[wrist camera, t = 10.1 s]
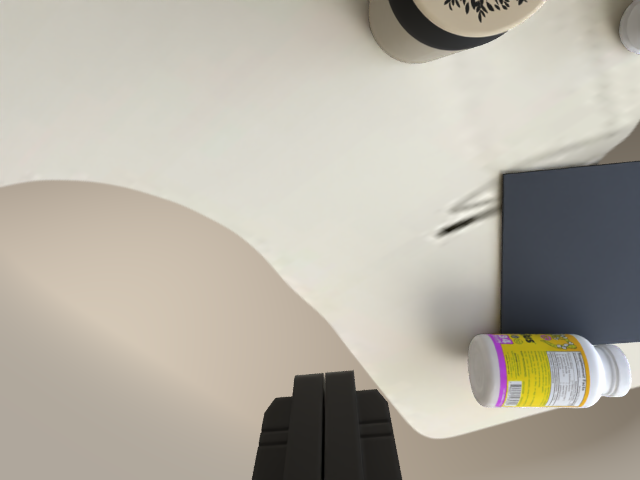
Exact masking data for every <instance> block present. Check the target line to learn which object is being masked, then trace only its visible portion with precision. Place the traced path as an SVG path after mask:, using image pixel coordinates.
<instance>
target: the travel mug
mask: <svg viewBox="0 0 640 480" xmlns="http://www.w3.org/2000/svg"><path fill="white" fill-rule="evenodd" d="M546 1H547V0H370V2H369V11H368V12H369V23H370V28H371V31H372V34H373V36H374V38H375V40H376V42H377V43H378V45H379V46H380V47H381V48H382V50H383V51H384V52H386V53H387V54H388V55H389V56H391V57H392V58H394V59H396V60H399V61H401V62H405V63H411V64H419V63H425V62H429V61H432V60H435V59H439V58H442V57H445V56H448V55H451V54H454V53H458V52H461V51H464V50H467V49H470V48H473V47H477V46H480V45H483V44H485V43H488V42H490V41H492V40H494V39H496V38H498V37H500V36H501V35H503V34H504V33H506V32H507V31H508V30H510V29H512V28H514V27H516V26H518V25H520V24H521V23H523V22H524V21H526V20H527V19H528V18H530V17H531V16H532V15H533V14H535V13H536V12H537V11H538V10H539V9H540V8H541V7H542V6H543V4H544V3H545V2H546Z"/></svg>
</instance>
